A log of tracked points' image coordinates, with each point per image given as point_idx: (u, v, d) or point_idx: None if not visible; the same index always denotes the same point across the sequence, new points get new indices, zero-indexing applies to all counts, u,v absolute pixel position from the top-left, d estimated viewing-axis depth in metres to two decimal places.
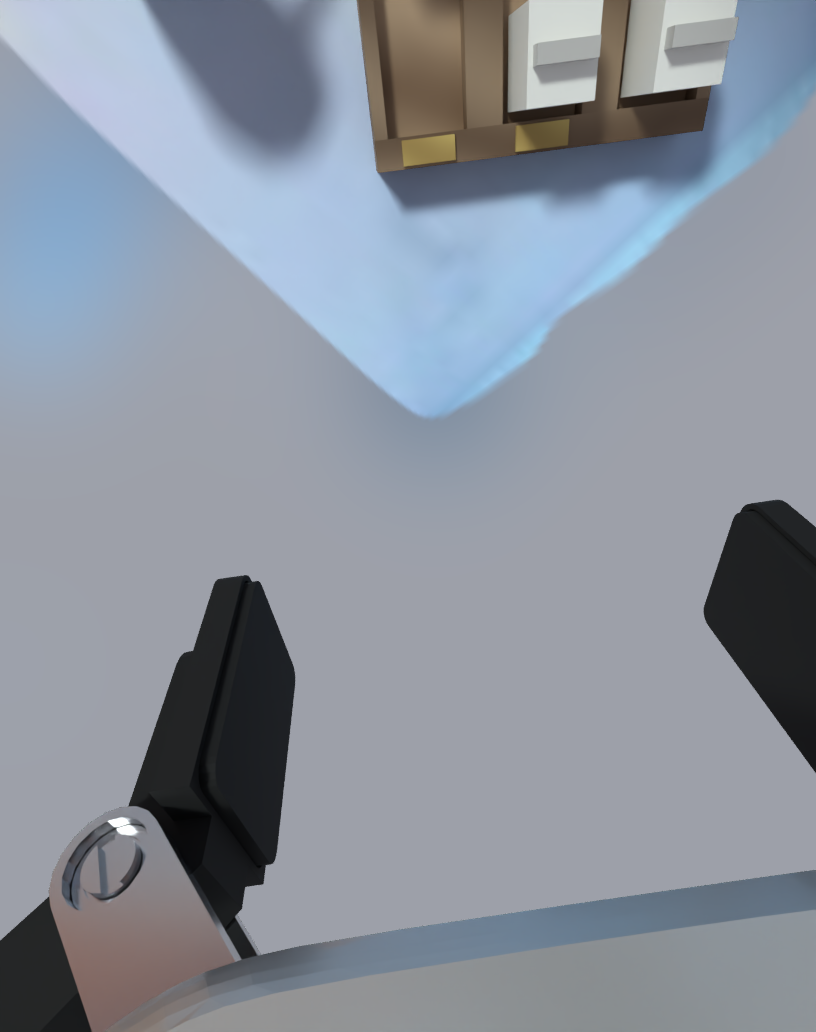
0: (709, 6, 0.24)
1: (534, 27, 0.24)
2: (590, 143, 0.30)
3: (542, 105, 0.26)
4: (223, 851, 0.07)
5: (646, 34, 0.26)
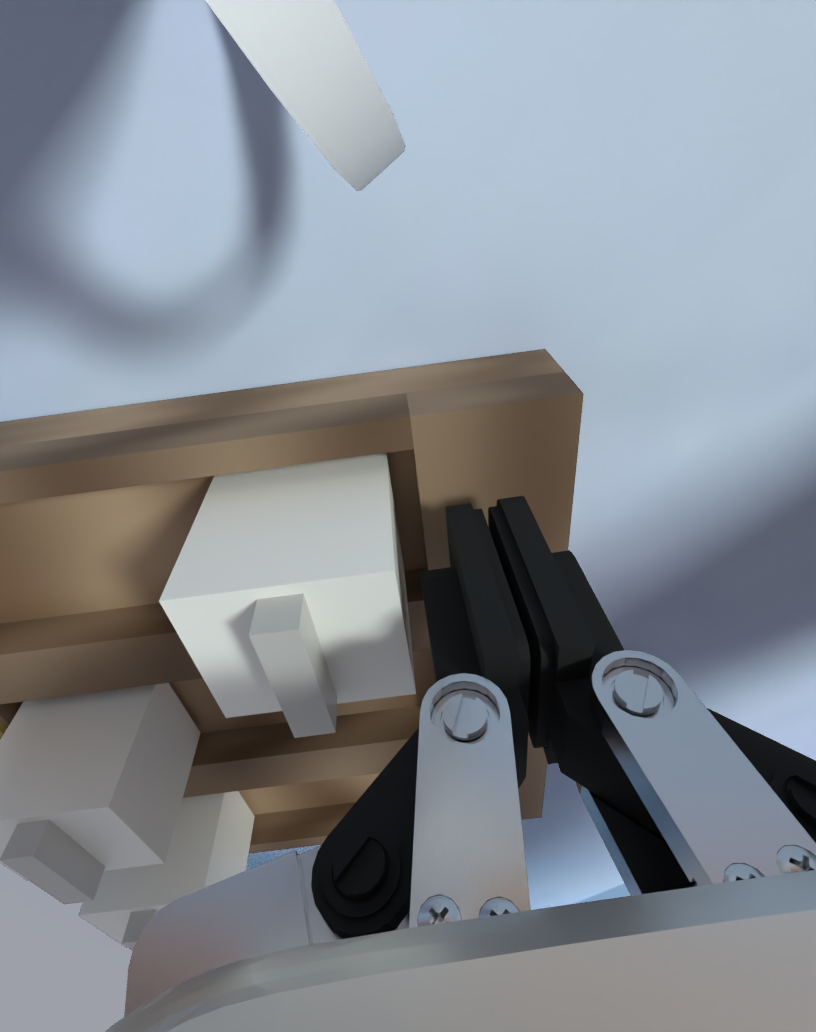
0: None
1: (74, 817, 0.13)
2: None
3: None
4: None
5: None
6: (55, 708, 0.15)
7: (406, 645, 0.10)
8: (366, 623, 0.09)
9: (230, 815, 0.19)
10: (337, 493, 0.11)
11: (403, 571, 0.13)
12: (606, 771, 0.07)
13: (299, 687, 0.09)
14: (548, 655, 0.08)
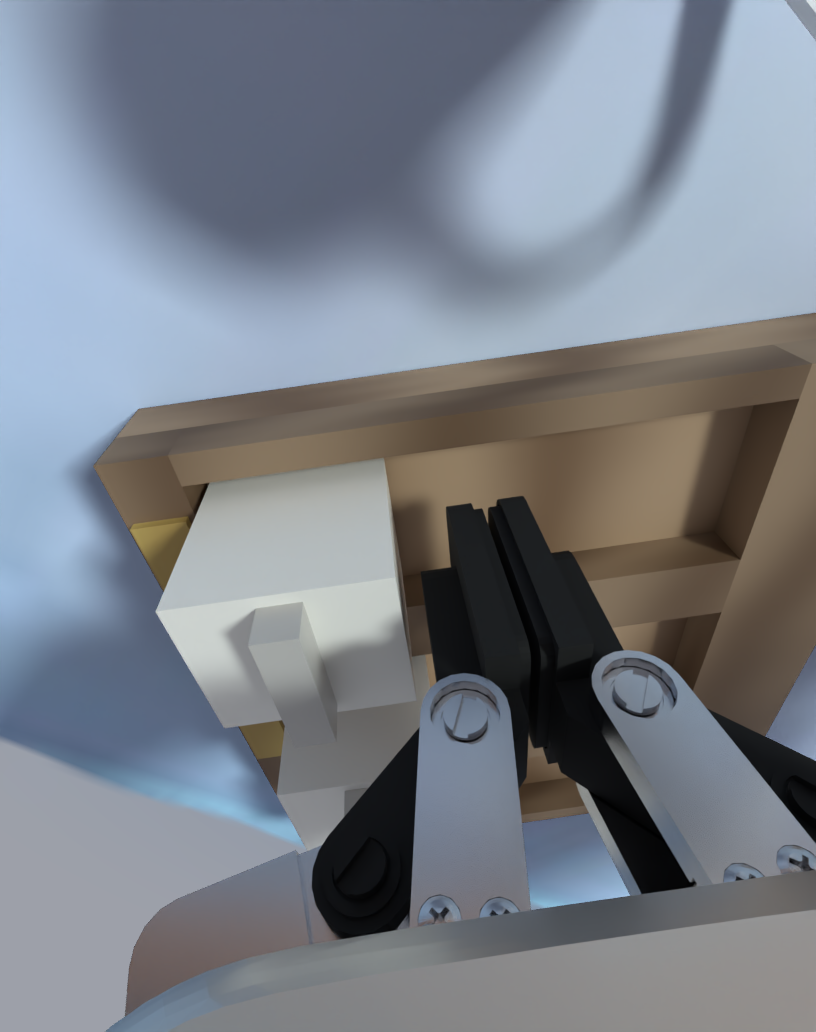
0: None
1: None
2: (267, 774, 0.18)
3: (288, 810, 0.13)
4: None
5: None
6: None
7: (407, 652, 0.10)
8: (367, 631, 0.09)
9: None
10: (334, 499, 0.11)
11: None
12: (606, 771, 0.07)
13: (299, 697, 0.09)
14: (548, 655, 0.08)
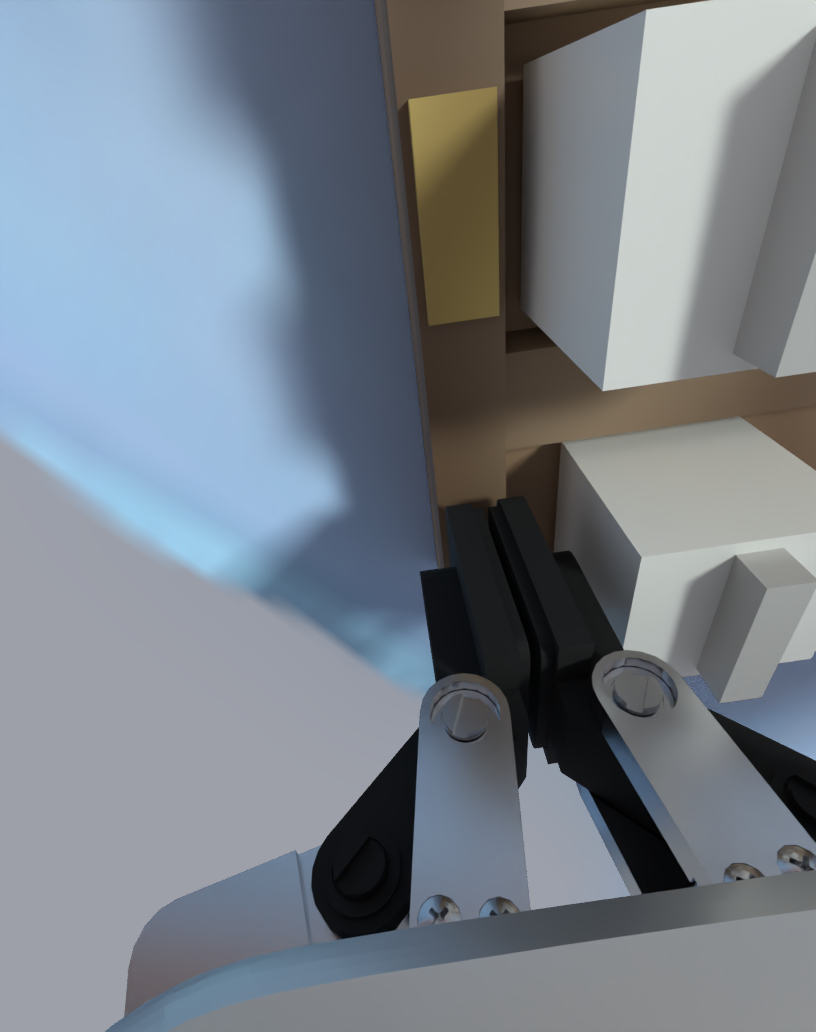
0: None
1: None
2: (431, 398, 0.10)
3: (640, 126, 0.05)
4: None
5: (729, 482, 0.10)
6: None
7: None
8: None
9: None
10: None
11: None
12: (606, 771, 0.07)
13: None
14: (548, 655, 0.08)
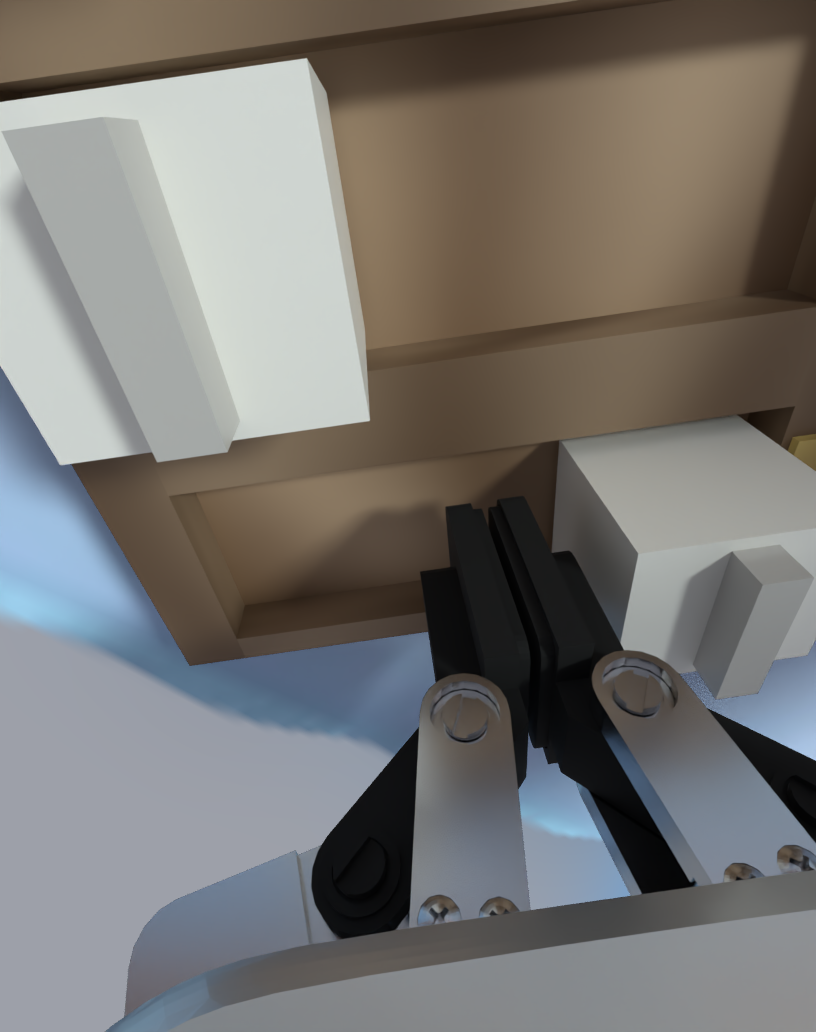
0: None
1: (207, 114, 0.05)
2: None
3: None
4: None
5: (725, 479, 0.10)
6: None
7: None
8: None
9: None
10: None
11: None
12: (606, 771, 0.07)
13: None
14: (548, 655, 0.08)
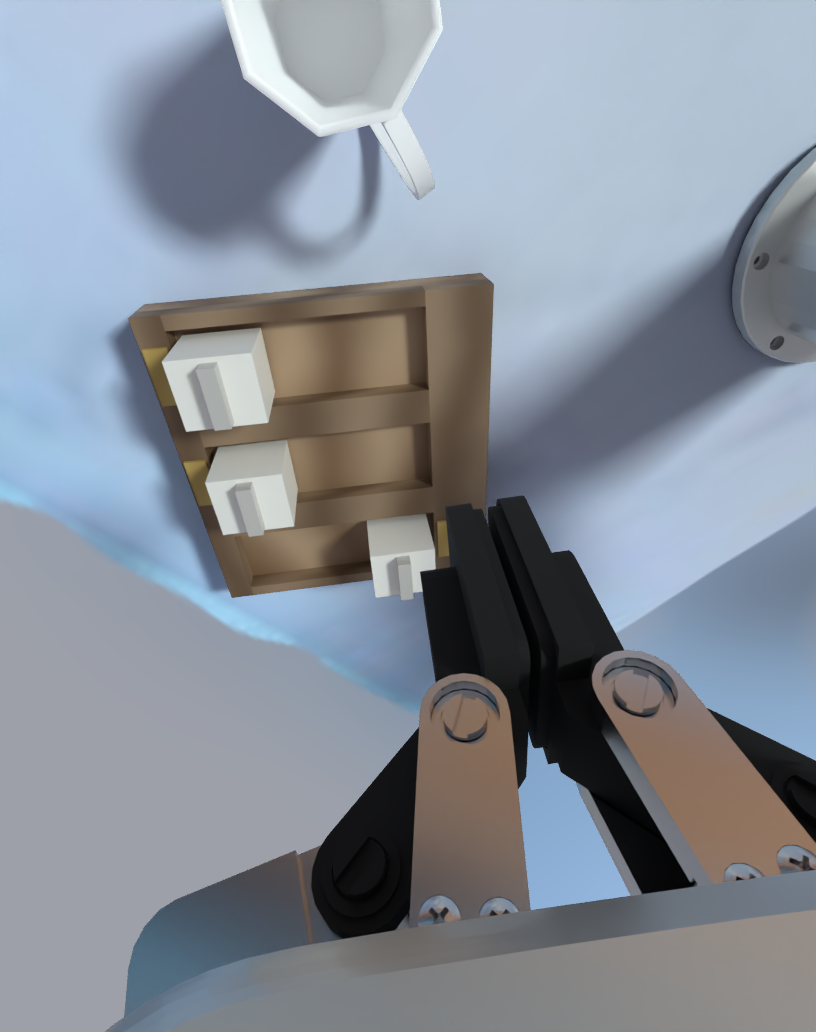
0: (419, 577, 0.33)
1: (264, 480, 0.27)
2: (205, 522, 0.32)
3: (210, 495, 0.28)
4: None
5: (405, 536, 0.33)
6: (236, 452, 0.30)
7: (260, 393, 0.25)
8: (243, 379, 0.24)
9: None
10: (235, 338, 0.25)
11: (271, 388, 0.28)
12: (606, 771, 0.07)
13: (215, 399, 0.24)
14: (548, 655, 0.08)
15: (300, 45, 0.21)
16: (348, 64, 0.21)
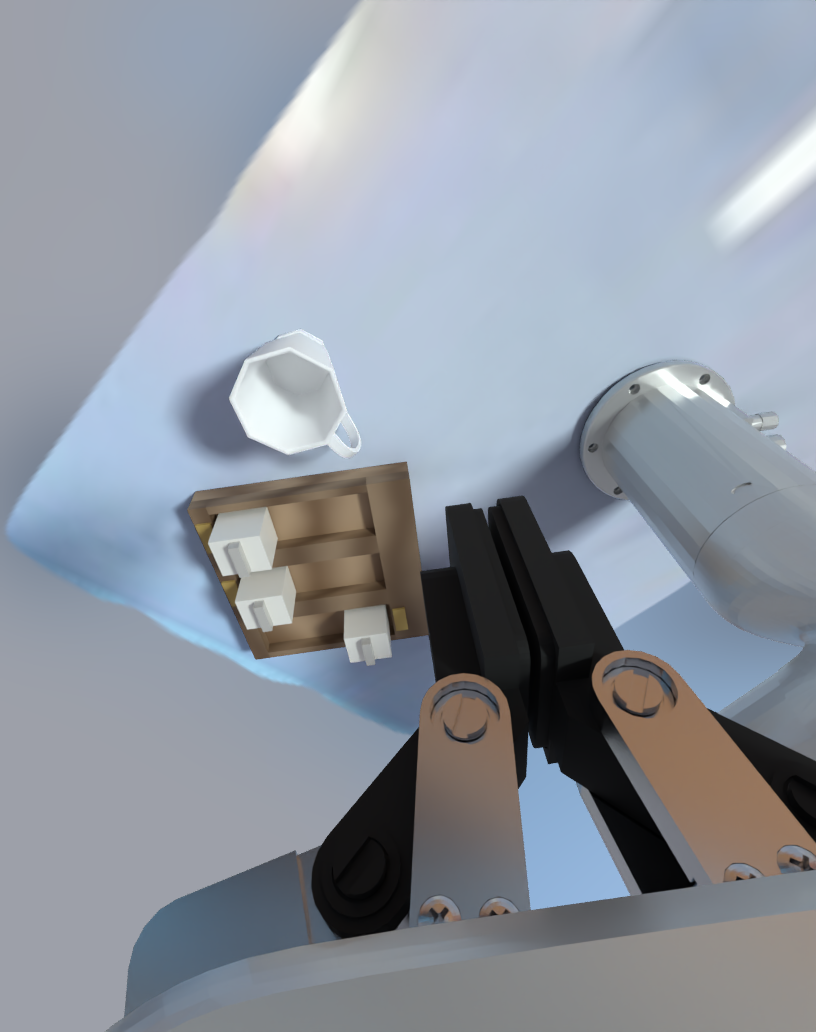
0: (379, 649, 0.48)
1: (271, 599, 0.43)
2: (236, 615, 0.49)
3: (238, 608, 0.44)
4: None
5: (369, 622, 0.48)
6: (254, 575, 0.46)
7: (266, 554, 0.41)
8: (255, 548, 0.40)
9: (386, 616, 0.50)
10: (250, 517, 0.41)
11: (274, 539, 0.44)
12: (607, 771, 0.07)
13: (239, 562, 0.40)
14: (548, 655, 0.08)
15: (281, 372, 0.37)
16: (309, 377, 0.37)
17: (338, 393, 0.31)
